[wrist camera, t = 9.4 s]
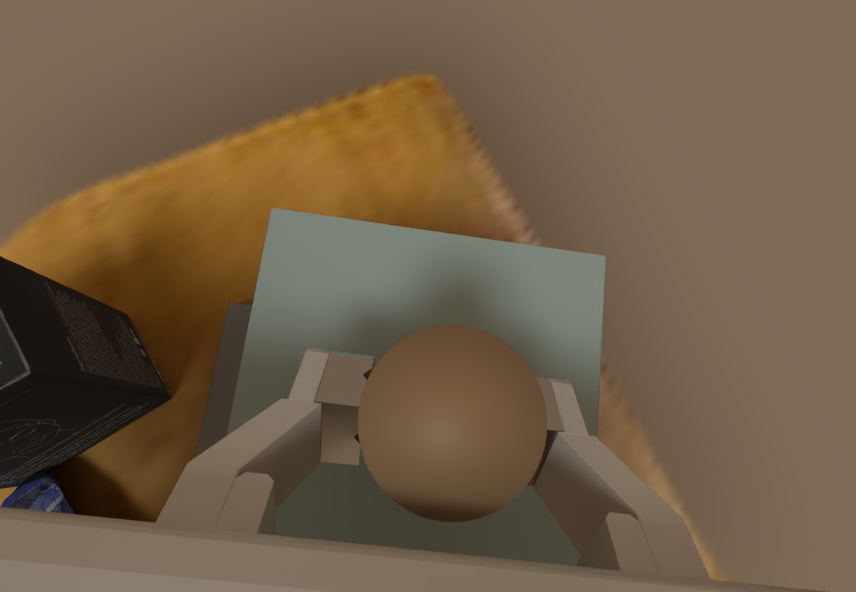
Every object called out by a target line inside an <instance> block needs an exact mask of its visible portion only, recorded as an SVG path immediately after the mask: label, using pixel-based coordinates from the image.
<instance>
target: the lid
mask: <svg viewBox="0 0 856 592" xmlns="http://www.w3.org/2000/svg"><path fill="white" fill-rule="evenodd" d="M604 277H605V256H602V255H595V254H588V253H581V252H574V251H568V250H561V249H554V248H547V247H540V246H533V245H526V244H519V243H512V242H505V241H498V240H491V239H484V238H477V237H470V236H463V235H457V234H450V233H443V232H436V231H429V230H422V229H415V228H408V227H401V226H394V225H387V224H380V223H373V222H366V221H359V220H353V219H346V218H339V217H332V216H325V215H318V214H311V213H304V212H297V211H290V210H283V209H276V208H272V209H271V214H270V219H269V224H268V229H267V234H266V240H265V245H264V250H263V255H262V260H261V265H260V270H259V275H258V280H257V285H256V290H255V295H254V300H253V305H252V310H251V315H250V320H249V325H248V330H247V335H246V340H245V345H244V350H243V355H242V360H241V365H240V370H239V375H238V380H237V385H236V390H235V395H234V400H233V405H232V410H231V415H230V420H229V425H228V431H227V435H229V434H230V433H232V432H233V431H235V430H236V429H238V428H239V427H240V426H242V425H243V424H245V423H246V422H248V421H249V420H251V419H252V418H253V417H255V416H256V415H258V414H259V413H261V412H262V411H264V410H265V409H266V408H268V407H269V406H271V405H272V404H274V403H275V402H277V401H278V400H280V399H288V397H289V395H290V392H291V389H292V386H293V384H294V381H295V378H296V376H297V373H298V370H299V368H300V365H301V362H302V360H303V357H304V354H305V352H306V350H307V349H308V348H309V347H310V348H317V349H323V350H330V351H331V350H333V351H340V352H346V353H353V354H359V355H366V356H373V357H374V367H373V370H372V372H371V374H370V376H369V378H368V380H367V382H366V384H365V387H364V389H363V392H362V395H361V400H360V404H359V410H358V436H359V442H360V448H361V455H360V460H359V465H350V464H338V463H326V462H320V464H319V465H318V467H317V468H316V469H315V470H314V471H313V472H312V473H311V474H310V475H309V476H308V477H307V478H306V479H305V480H304V481H303V482H302V483H301V484H300V485H299V486H298V488H297V489H296V490H295V491H294V492H293V493H292V494H291V495H290V496H289V497H288V498H287V499H286V500H285V501H284V502H283V503H282V504H281V505H280V506H279V507H278V508H277V510H276V511H275V514H276V534H277V535H281V536H291V537H300V538H310V539H319V540H329V541H339V542H348V543H358V544H367V545H377V546H386V547H396V548H406V549H415V550H425V551H435V552H445V553H455V554H464V555H474V556H484V557H494V558H504V559H513V560H523V561H533V562H543V563H553V564H562V565H572V566H575V565H576V564H577V562H578V561H579V559H580V557H581V556H580V554H579V553H578V552H577V550H576V549H575V547H574V546H573V544H572V543H571V542H570V540H569V539H568V537H567V536H566V534H565V533H564V532H563V530H562V529H561V527H560V526H559V524H558V523H557V522H556V520H555V519H554V517H553V516H552V514H551V513H550V511H549V510H548V509H547V507H546V506H545V504H544V503H543V501H542V500H541V499H540V497H539V496H538V494H537V493H536V491H535V490H534V489H533V487H534V486H529V485H527V484H528V483H529V481H530V480H531V479H532V477H533V475H534V473H535V471H536V470H537V468H538V465H539V463H540V460H541V458H542V455H543V451H544V447H545V443H546V435H547V413H546V405H545V401H544V397H543V393H542V390H541V388H540V385H539V383H538V380H537V379H536V377H539V378H546V379H547V378H551V379H560V380H569V381H570V382H571V384H572V386H573V389H574V392H575V395H576V398H577V401H578V404H579V407H580V410H581V413H582V416H583V419H584V422H585V425H586V428H587V431H588V434H589V436H596V437H597V429H598V407H599V385H600V364H601V342H602V320H603V299H604Z"/></svg>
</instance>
